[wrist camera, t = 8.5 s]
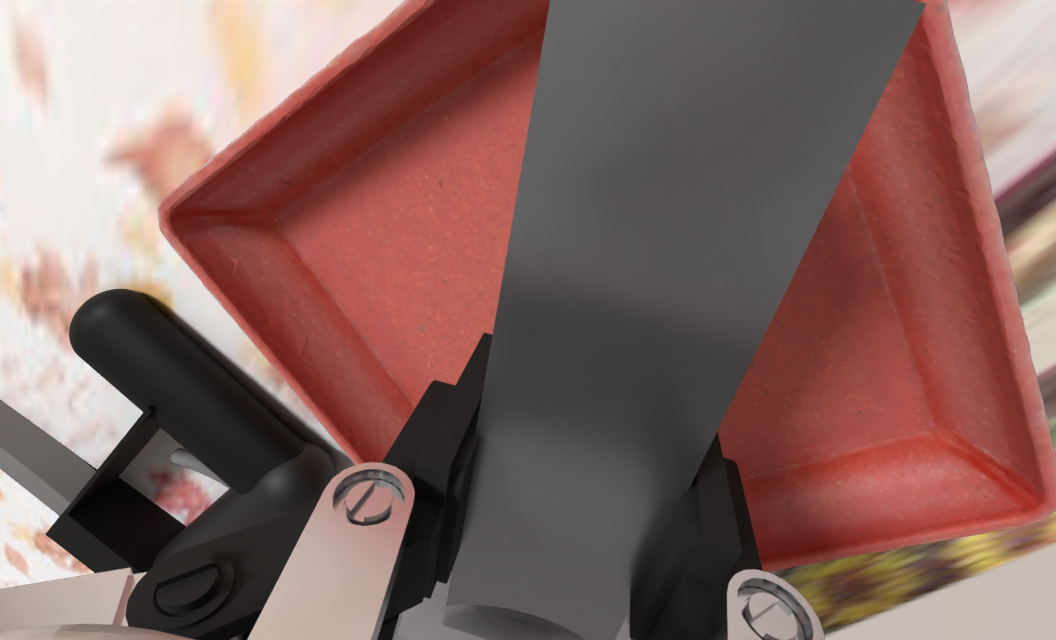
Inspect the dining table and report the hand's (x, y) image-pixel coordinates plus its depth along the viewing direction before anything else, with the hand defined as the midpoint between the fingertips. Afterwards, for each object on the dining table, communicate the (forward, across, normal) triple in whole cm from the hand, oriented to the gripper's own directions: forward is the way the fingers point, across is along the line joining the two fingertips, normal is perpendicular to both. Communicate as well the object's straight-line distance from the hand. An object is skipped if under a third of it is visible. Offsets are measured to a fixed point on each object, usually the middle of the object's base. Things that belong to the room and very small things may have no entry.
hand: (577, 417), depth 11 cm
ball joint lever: (+1, 0, 0) cm, 1 cm away
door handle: (+6, +19, +14) cm, 24 cm away
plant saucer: (+6, 0, 0) cm, 6 cm away
